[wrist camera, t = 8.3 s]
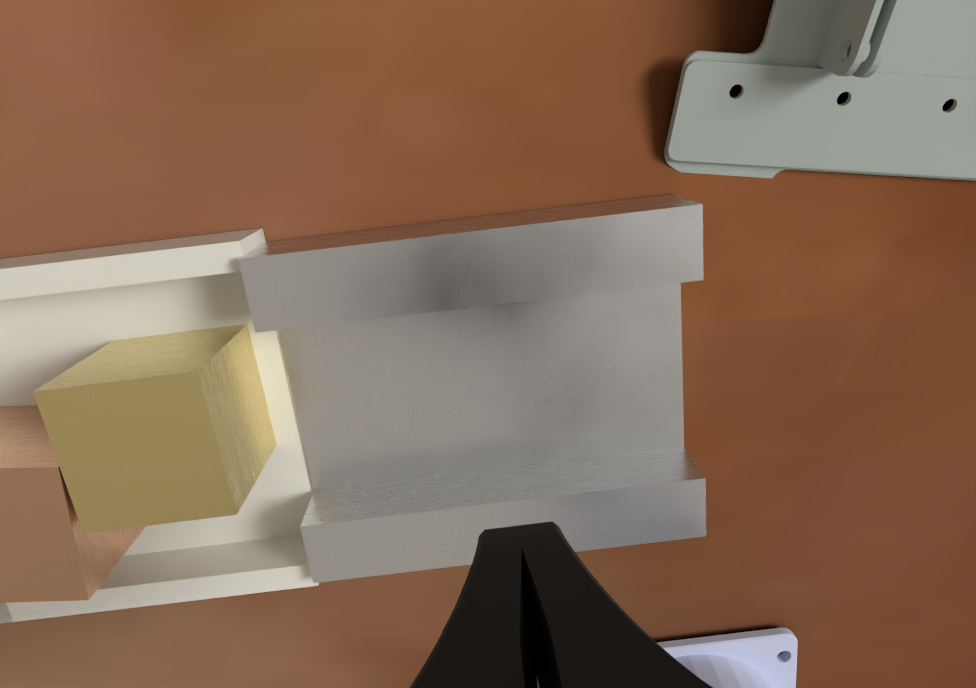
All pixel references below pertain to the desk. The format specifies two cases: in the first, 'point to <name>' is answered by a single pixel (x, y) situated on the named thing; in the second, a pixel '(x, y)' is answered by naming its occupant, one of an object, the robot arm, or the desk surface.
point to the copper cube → (45, 521)
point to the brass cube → (160, 428)
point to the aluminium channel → (487, 380)
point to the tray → (147, 312)
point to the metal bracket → (836, 94)
